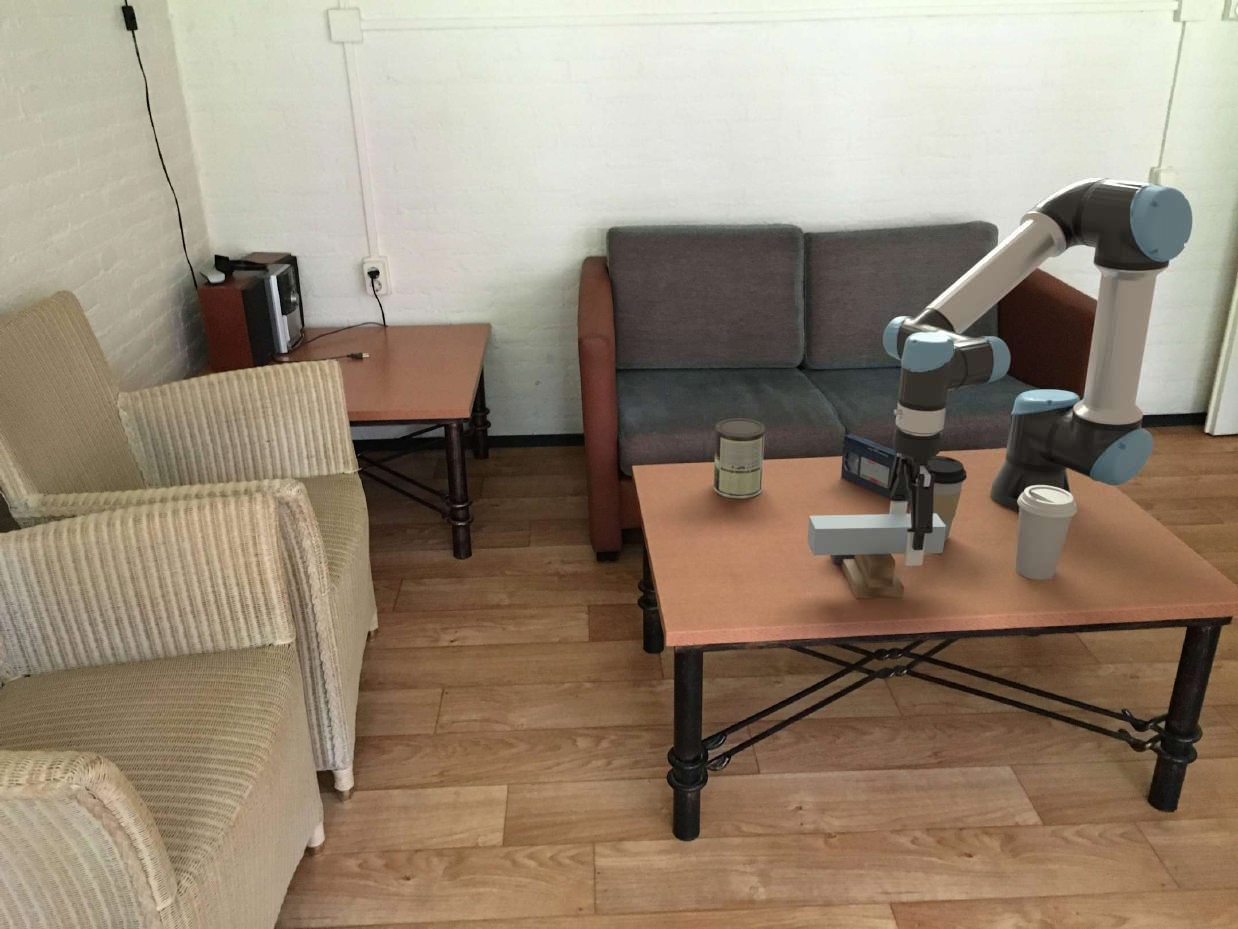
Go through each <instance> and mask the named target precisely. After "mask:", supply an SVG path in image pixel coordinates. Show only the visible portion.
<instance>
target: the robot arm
mask: <svg viewBox="0 0 1238 929" xmlns="http://www.w3.org/2000/svg"><path fill="white" fill-rule="evenodd" d="M1192 229H1193V211H1192V207H1191V205H1190V202H1189V200H1188V199H1187V198H1186V197H1185V195H1184V193H1183V192H1181V191H1180V190H1178V189H1176V188H1173V187H1168V186H1165V185H1164V186H1163V185H1162V184H1157V183H1150V182H1141V181H1140V182H1139V181H1132V180H1130V181H1129V180H1122V179H1113V178H1112V179H1111V178H1106V177H1093V178H1086V179H1082V180H1079V181H1076V182H1074V183H1071V184H1069V185H1067V186H1065V187H1063V188H1061V189H1059V190H1057V191H1055V192H1054V193H1052V194H1050V195H1048V196H1047V197H1046V198H1044V199H1042V200H1041V201H1040V202H1038V203H1037V204H1036V205H1034V206H1033V207H1032V208H1030V210H1029V211H1027V212H1026V213H1025V214H1024V215H1023V216H1022V217H1021V219H1020V222H1019V227H1017V228H1016V229H1015V230H1014V231H1013V232H1012V233H1011V234H1009V235H1008V236H1007V237H1006V238H1004V240H1002V241H1001V242H1000V243H999V244H998V245H996V246H995V247H994V248H993V249H992V250H991V251H990V252H988V253H987V254H986V255H985V256H984V257H982V258H981V259H980V260H979V261H978V262H977V263H976V264H975V265H974V266H972V267H971V268H970V269H969V270H968V271H966V272H965V273H964V274H963V275H962V276H960V278H958V279H957V280H956V281H955V282H953V284H951V285H950V286H949V287H948V288H947V289H946V290H944V291H943V292H942V293H941V294H940V295H938V297H936V298H935V299H933V301H932V302H931V303H929V304H928V305H927V306H926V307H925V308H924V309H923V310H921V311H920V312H919V313H917V315H915V317H913V316H906V315H905V316H904V315H901V316H898V317H895V318H893V319H891V321H890V322H889V323H888V324H887V326H886V328H885V329H884V332H883V337H882V344H883V347H884V350H885V352H886V353H887V354H888V355H889V356H890V357H893V358H895V359H896V360H899V361H900V376H899V378H900V379H899V388H898V399H897V400H898V401H897V409H894V410H893V414H894V416H896V418H895V425H896V427H895V428H894V432H893V440H892V447H893V450H895V457H894V462H893V466H892V470H891V475H890V479H889V484H888V488H887V489H888V492H891V494H890V498H891V500H890V504H889V506H890V507H889V514H907V511H908V506H907V501H903V499H910V506H909V507H910V508H909V509H910V514H911V528H909V529H907V532H908V540H907V548H906V554H905V555H904V556H905V557H904V565H905V566H923V561H924V554H925V553H924V546H925V539H926V534H928V533H932V531H933V496H934V483H935V478H936V477H935V474H929V473H930V465H929V464H928V460H929V459H930V458H931V457H933V456H938V454H940V452H941V447H942V439H943V432H942V430H944V427H945V419H946V413H947V403H948V397H949V396H948V395H949V391H954V390H957V389H963V388H967V387H972V386H978V385H987V384H988V383H990V382H991V383H992V382H995V381H998V380H1000V379H1002V378H1003V377H1005V376H1006V374H1007V373H1008V371H1009V368H1010V365H1011V353H1010V350H1009V347H1008V346H1007V343H1006V342H1005V341H1004V340H1003V339H1001V338H1000V337H997V336H993V335H991V336H987V335H986V336H985V335H982V336H979V337H971V336H969V335H968V336H967V335H965V334H962V333H964V332H965V331H966V330H967V329H968V328H969V327H970V326H972V325H973V324H974V323H975V322H976V321H977V320H979V319H980V318H981V317H982V316H983V315H984V314H986V313H987V312H988V311H989V310H990V309H991V308H992V307H994V306H995V305H996V304H997V303H998V302H999V301H1001V300H1002V299H1003V298H1005V296H1006V295H1007V294H1009V293H1010V292H1012V290H1013V289H1014V288H1015V287H1017V286H1018V285H1019V284H1020V283H1021V282H1023V281H1024V279H1026V278H1027V277H1028V276H1030V274H1031V273H1032V272H1034V271H1035V270H1036V269H1038V267H1040V266H1041V265H1042V264H1043V263H1044V262H1045V261H1047V260H1048V259H1049V258H1057V257H1060V256H1061V255H1063V253H1064V252H1066V251H1067V250H1069V249H1070V248H1074V247H1075V246H1076V247H1077V246H1085V247H1090V248H1094V256H1093V265H1094V266H1095V268H1097V270H1098V271H1099V272H1100V273H1101V276H1100V282H1099V288H1098V296H1097V304H1096V310H1095V317H1094V324H1093V330H1092V331H1093V332H1092V336H1091V337H1092V338H1091V345H1090V351H1089V358H1088V365H1087V372H1086V380H1085V385H1084V386H1085V387H1084V393H1083V398H1082V399H1080V396H1079V395H1078V393H1075V392H1073V391H1068V390H1061V389H1051V388H1050V389H1033V390H1027V391H1024V392H1022V393H1020V394H1019V395H1017V396H1016V398H1015V400H1014V405H1013V409H1012V411H1011V418H1010V423H1009V424H1010V425H1009V431H1008V439H1007V445H1006V450H1005V451H1006V453H1005V458H1004V461H1003V463H1002V465H1001V467H1000V469H999V470H998V472H997V474H996V476H995V477H994V480H992V484H991V488H990V497H991V499H992V500H993V502H994V503H996V504H997V505H998V506H1001V507H1003V508H1004V509H1008V510H1010V511H1013V512H1016V513H1019V509H1020V506H1019V505H1018V503H1017V500H1018V498H1019V496H1020V495H1021V494H1022V493H1023V492H1024V490H1025V489H1026V488H1027V487H1030V486H1034V485H1047V486H1053V487H1058V488H1061V489H1063V490H1066V491H1068V492H1069V493H1071V488H1070V483H1069V482H1070V481H1069V476H1068V471H1067V470H1071V471H1073V472H1075V473H1078V474H1080V475H1083V476H1084V477H1087V478H1090V480H1092V481H1094V482H1101V484H1102V483H1103V484H1105V485H1108V486H1120V485H1123V484H1125V483H1127V482H1129V481H1130V480H1131V479H1133V478H1135V477H1136V476H1137V475H1138V473H1140V471H1142V469H1143V468H1144V467H1145V465H1146V464H1147V462H1148V460H1149V458H1150V456H1151V454H1152V452H1153V446H1154V438H1153V436H1152V434H1151V433H1150V432H1149V431H1148V430H1147V429H1146V428H1142V423H1143V417H1144V414H1143V411H1142V409H1141V408H1140V407H1139V406H1138V405H1137V403H1136V402H1137V396H1138V389H1139V383H1140V378H1141V372H1142V365H1143V358H1144V353H1145V348H1146V347H1145V346H1146V342H1147V336H1148V331H1149V330H1148V329H1149V325H1150V318H1151V312H1152V306H1153V300H1154V294H1155V289H1156V288H1155V287H1156V282H1157V278H1158V275H1160V274H1162V273H1163V271H1165V270H1166V269H1168V268H1169V265H1170V261H1172V260H1173V259H1175V258H1177V257H1178V256H1179V255H1180V254H1182V252H1183V250H1184V249H1185V244H1187V243H1188V242H1189V240H1190V238H1191V233H1192ZM893 484H894V485H893ZM912 484H917V485H914V486H913V485H912ZM908 492H910V497H909V495H908V494H909V493H908ZM1071 494H1072V493H1071Z"/></svg>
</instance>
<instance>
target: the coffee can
mask: <svg viewBox="0 0 1238 929" xmlns="http://www.w3.org/2000/svg"><path fill="white" fill-rule="evenodd" d="M714 426H715V427H714V431H715V437H714V438H715V439H714V440H715V445H714V470H713V471H714V472H713V473H714V475H713V478H714V479H713V491H714V492H715V493H716V494H718V495H720V496H722V497H725V498H729V499H736V500H737V499H744V500H745V499H749V498H754V497H755V496H756V497H757V496H758V495H760V494H761V493H762V490H763V488H762V487H763V486H762V485H763V481H762V480H763V468H764V467H763V464H764V449H765V448H764V447H765V433H766V426H765V425H764V423H762V422H760V421H757V420H754V419H750V418H741V417H740V418H738V417H735V418H728V419H724V420H720V421H718V422H717V423H715V425H714Z"/></svg>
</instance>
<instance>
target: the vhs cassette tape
mask: <svg viewBox="0 0 1238 929" xmlns="http://www.w3.org/2000/svg"><path fill="white" fill-rule="evenodd" d="M894 457H895V450H894V448H893V449H892V448H890V447H887V446H884V445H882V444H879V443H877V442H874V441H872V440H870V439H866V438H864V437H861V436H859V435H857V434H854V433H848V434H845V435H844V436H843V447H842V458H841V459H842V461H841V470H840V471H841V474H840V477H841V478H842V479H843V480H846V481H848V482H850V483H852V484H854V485H857V486H858V487H860V488H863V489H866V490H867V491H870V492H872V493H874V494H876V495H878V496H881V497H883V498H885V499H888V500H890V501H892V500H891V498H890V494H891V492H888V489H887V488H888V484H889V479H890V475H891V470H892V466H893V462H894ZM893 485H894V484H893ZM912 485H913V486H914V485H916V484H912ZM908 493H909V494H908V495H909V497H910V492H908ZM903 501H907V507H910V499H903Z"/></svg>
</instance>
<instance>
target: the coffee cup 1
mask: <svg viewBox="0 0 1238 929" xmlns="http://www.w3.org/2000/svg"><path fill="white" fill-rule="evenodd" d="M928 464H929V465H930V473H929V474H935V477H936V478H935V483H934V496H933V513H937V515H938V516H939V517H940V519H941V520H942V522H943V523H944V524H945V526H946V531H945V539H944V542H945V541H947V540H948V539H949V536H950V532H951V528H952V524H953V520H954V518H955V517H956V513H957V512H956V511H957V509H958V504H959V500H960V498H961V494H962V486H963V482H964V481H965V480H967V471H966V469H965V468H964V464H963V463H962V462H961V461H960V460H958V459H955V458H953V457H949V456H945V455H936V456H933V457H931V458H930V459H929V460H928ZM916 485H917V484H916Z"/></svg>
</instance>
